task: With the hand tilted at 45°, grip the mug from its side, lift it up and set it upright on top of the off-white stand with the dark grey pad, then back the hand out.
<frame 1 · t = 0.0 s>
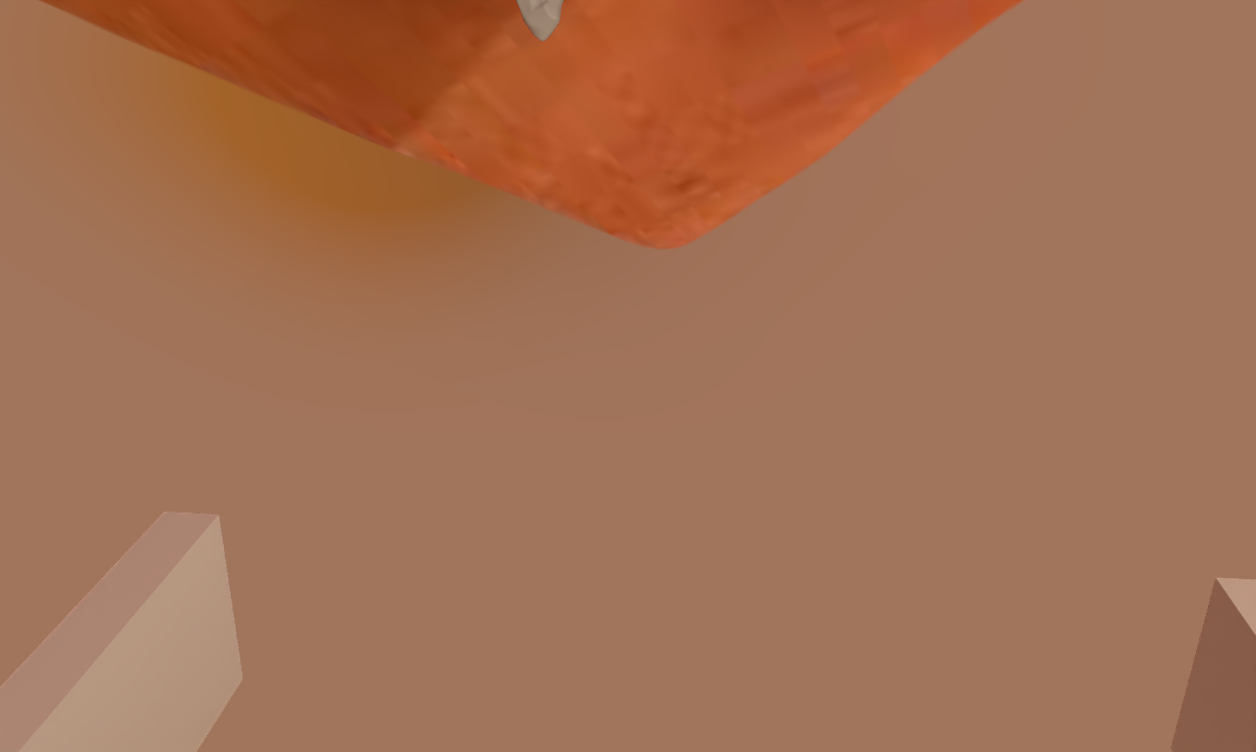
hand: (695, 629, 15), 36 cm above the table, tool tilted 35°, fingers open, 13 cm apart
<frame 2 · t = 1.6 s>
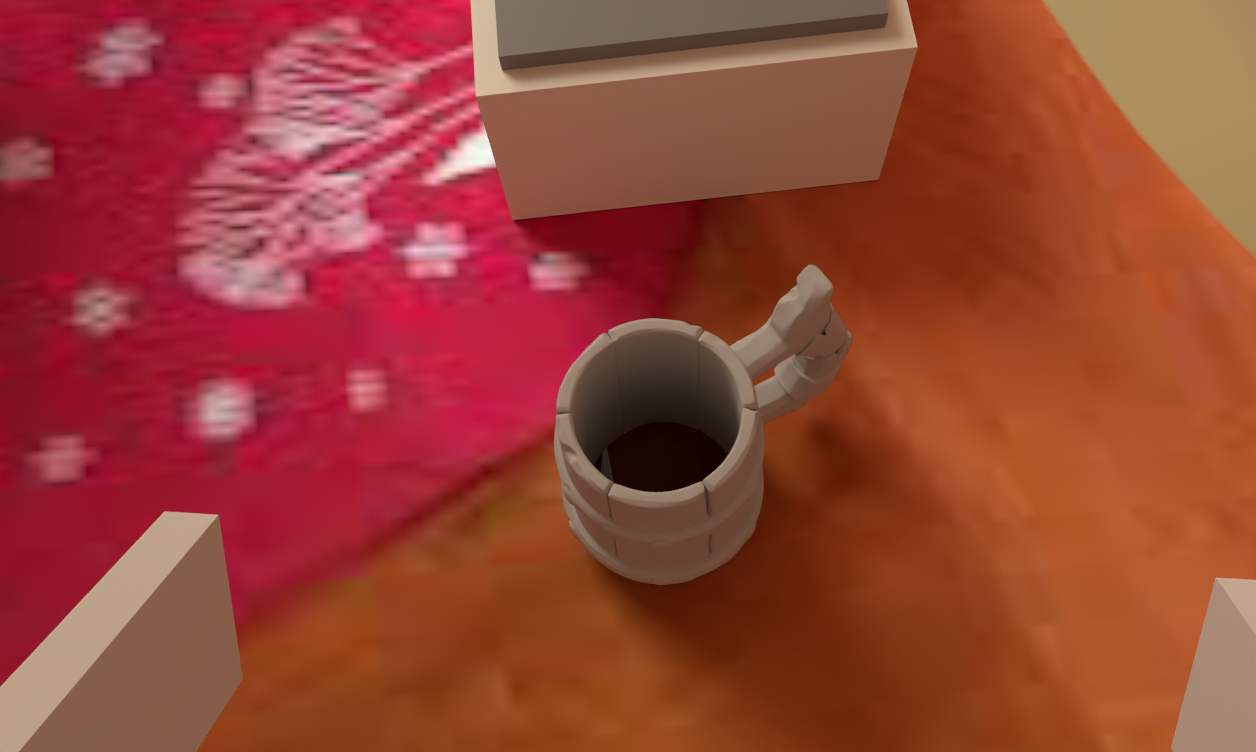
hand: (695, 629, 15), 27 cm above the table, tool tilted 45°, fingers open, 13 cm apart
stand: (674, 49, 52), on the table
mug: (705, 467, 45), on the table
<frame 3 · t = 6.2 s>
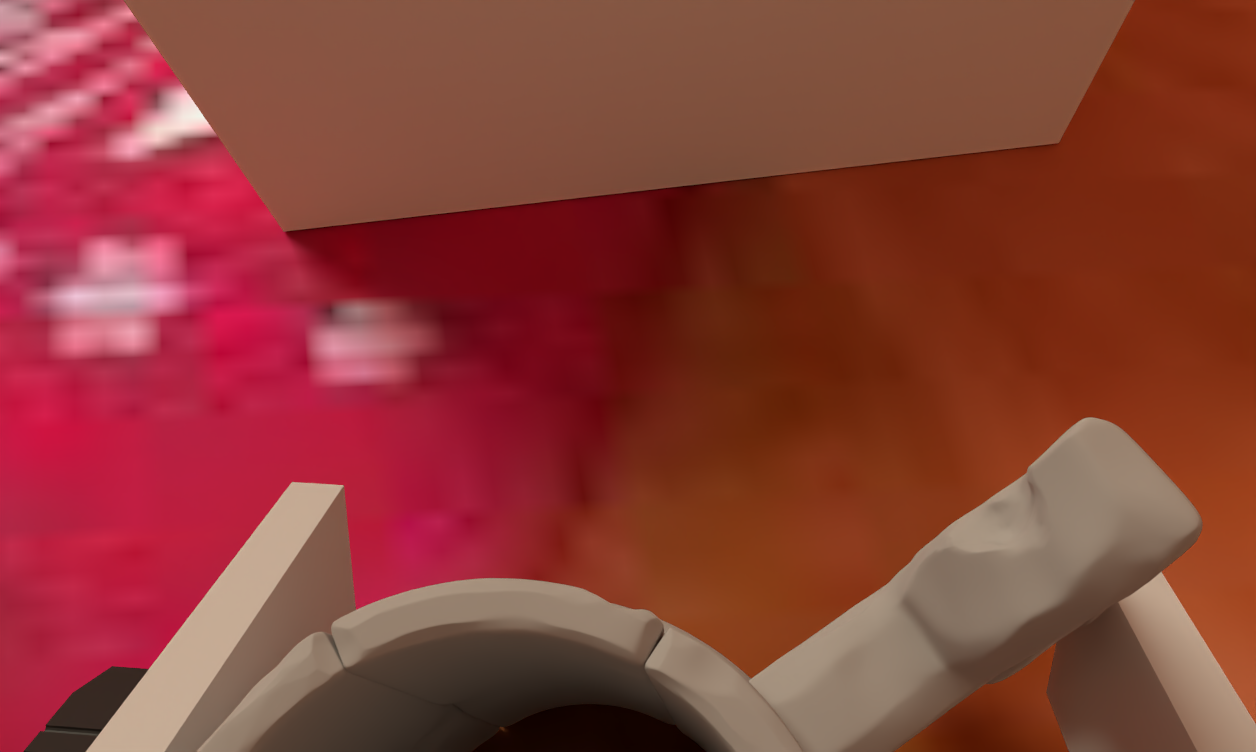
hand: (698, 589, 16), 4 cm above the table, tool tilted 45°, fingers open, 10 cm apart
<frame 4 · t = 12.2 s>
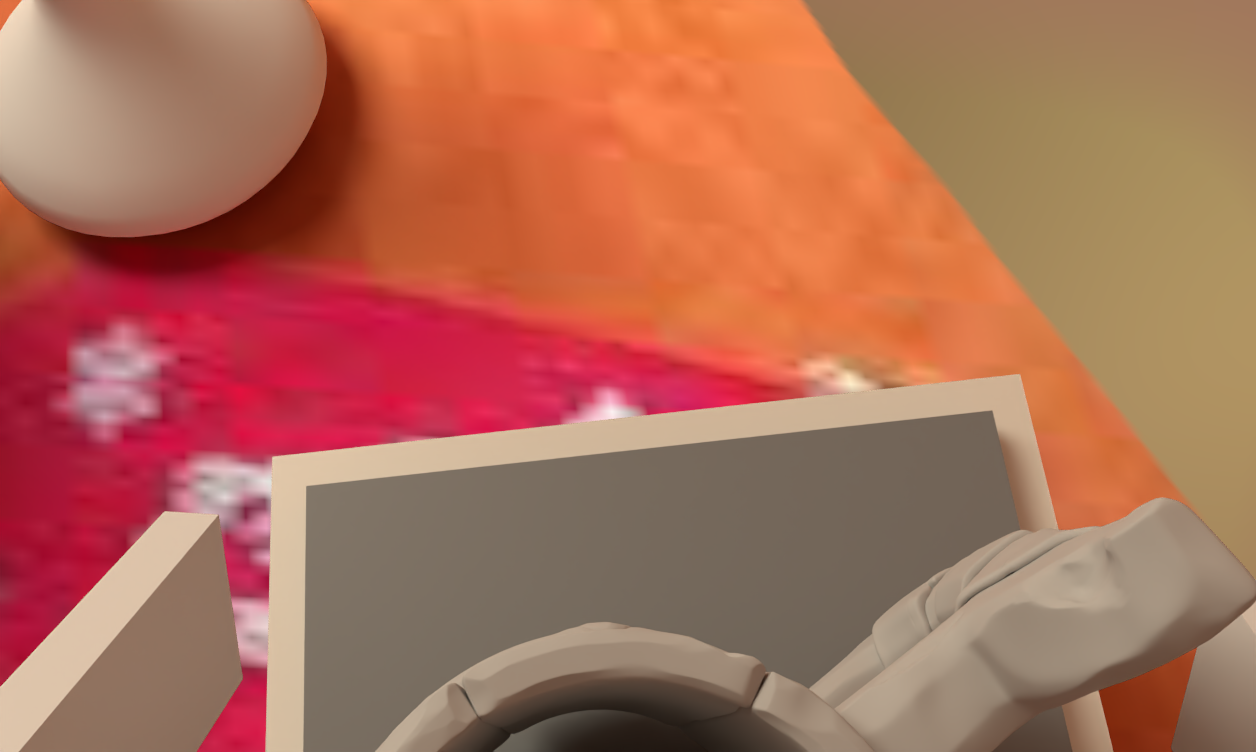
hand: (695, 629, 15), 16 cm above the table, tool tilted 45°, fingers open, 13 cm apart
flower in vase: (203, 116, 39), on the table
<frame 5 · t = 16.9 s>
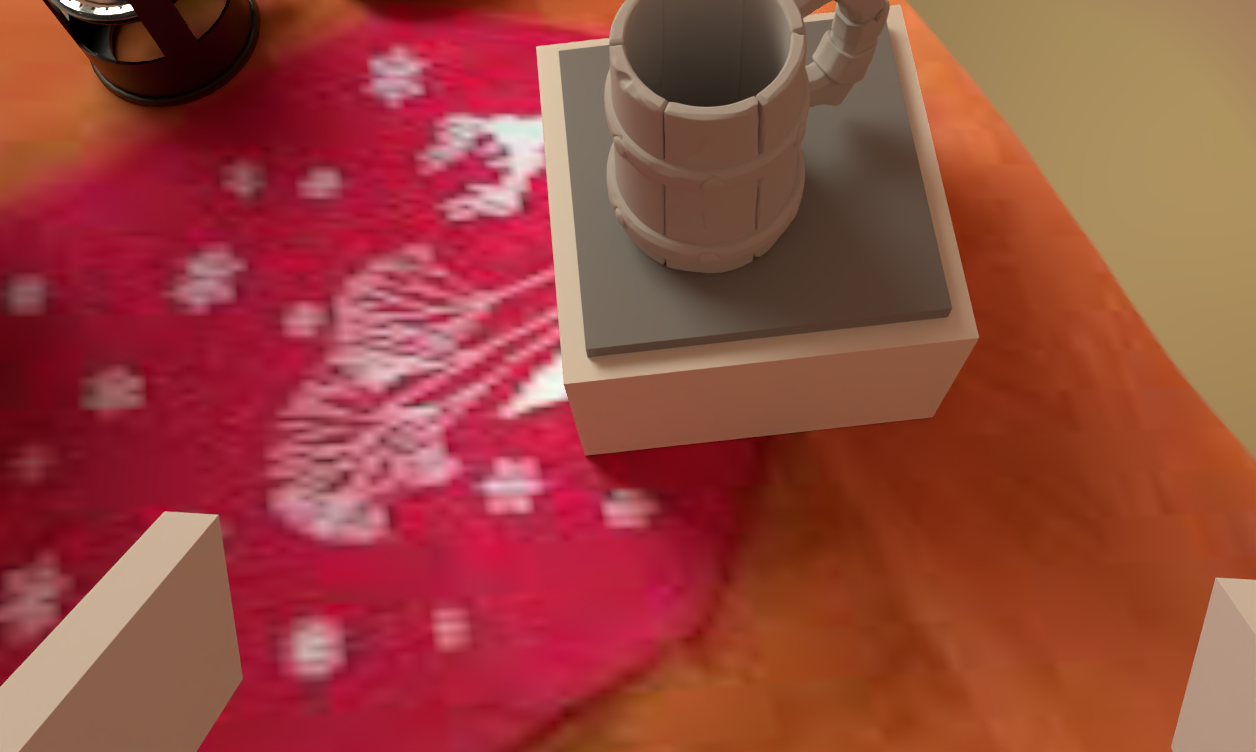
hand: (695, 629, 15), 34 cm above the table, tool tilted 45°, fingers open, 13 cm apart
stand: (735, 281, 54), on the table
mug: (745, 172, 45), point 10 cm above the table, touching stand
french press: (186, 33, 62), on the table
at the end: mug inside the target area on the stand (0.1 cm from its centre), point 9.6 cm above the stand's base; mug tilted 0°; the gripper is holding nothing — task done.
